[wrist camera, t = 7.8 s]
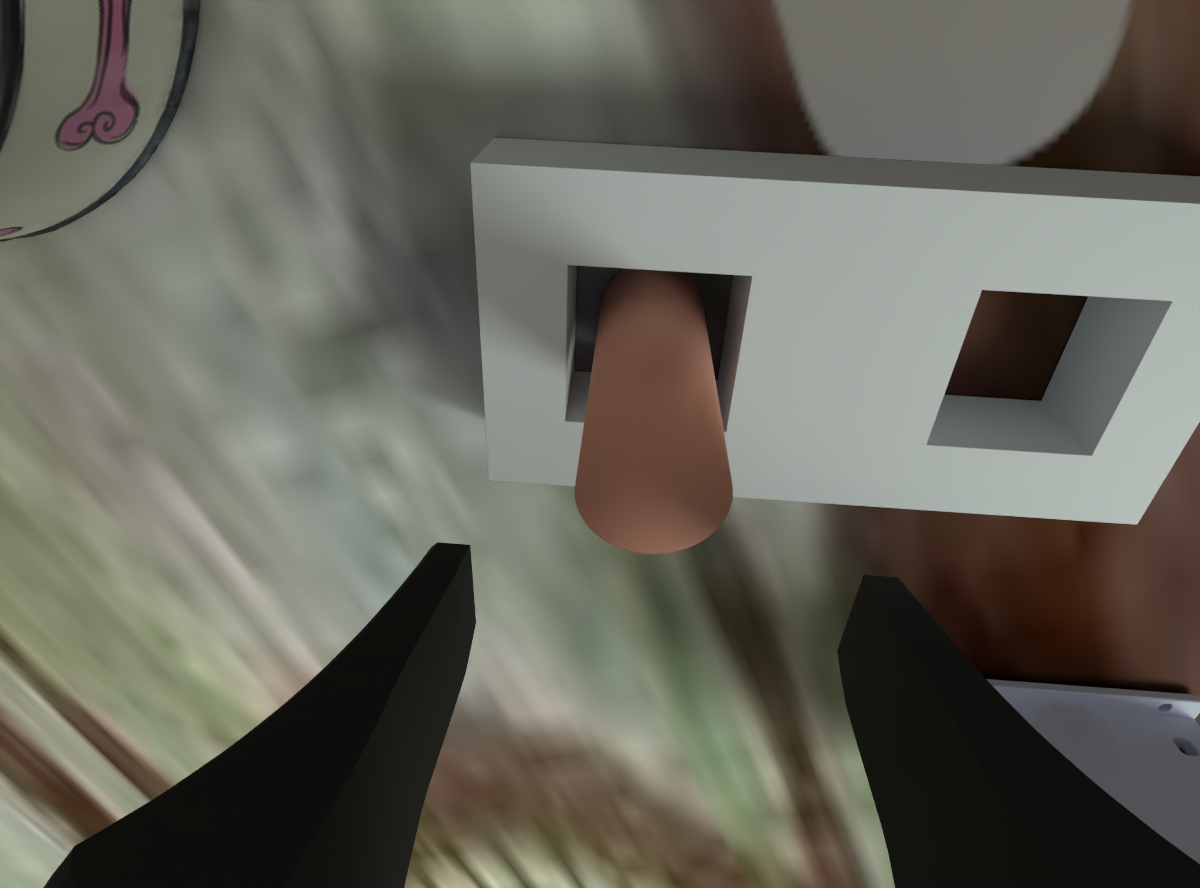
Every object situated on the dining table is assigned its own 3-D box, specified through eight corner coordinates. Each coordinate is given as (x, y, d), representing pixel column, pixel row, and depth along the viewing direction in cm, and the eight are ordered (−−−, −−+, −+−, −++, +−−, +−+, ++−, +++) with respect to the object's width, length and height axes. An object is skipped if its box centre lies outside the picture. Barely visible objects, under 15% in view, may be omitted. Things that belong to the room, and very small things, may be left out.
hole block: (1233, 178, 18) (1326, 211, 16) (1084, 464, 23) (1137, 524, 20) (494, 137, 18) (470, 162, 16) (505, 426, 23) (488, 480, 21)
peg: (707, 261, 20) (742, 432, 13) (697, 356, 22) (723, 557, 14) (602, 257, 20) (574, 425, 13) (600, 352, 22) (574, 550, 14)
